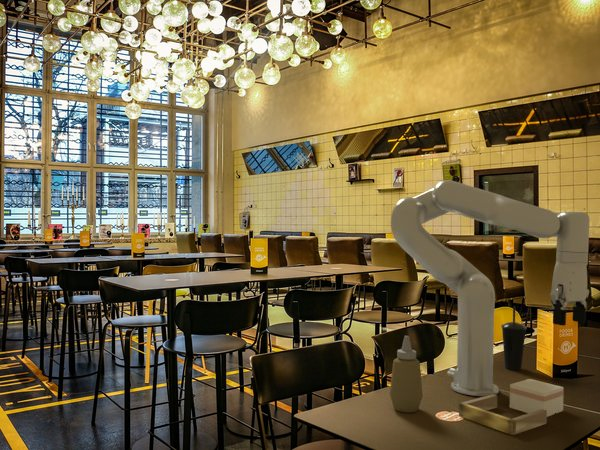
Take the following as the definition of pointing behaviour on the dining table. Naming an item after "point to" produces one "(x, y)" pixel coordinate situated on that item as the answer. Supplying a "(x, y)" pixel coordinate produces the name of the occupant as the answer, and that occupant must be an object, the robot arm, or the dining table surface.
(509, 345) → the drinking cup
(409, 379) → the squeeze bottle
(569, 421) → the dining table surface
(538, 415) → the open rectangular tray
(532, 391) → the carton
